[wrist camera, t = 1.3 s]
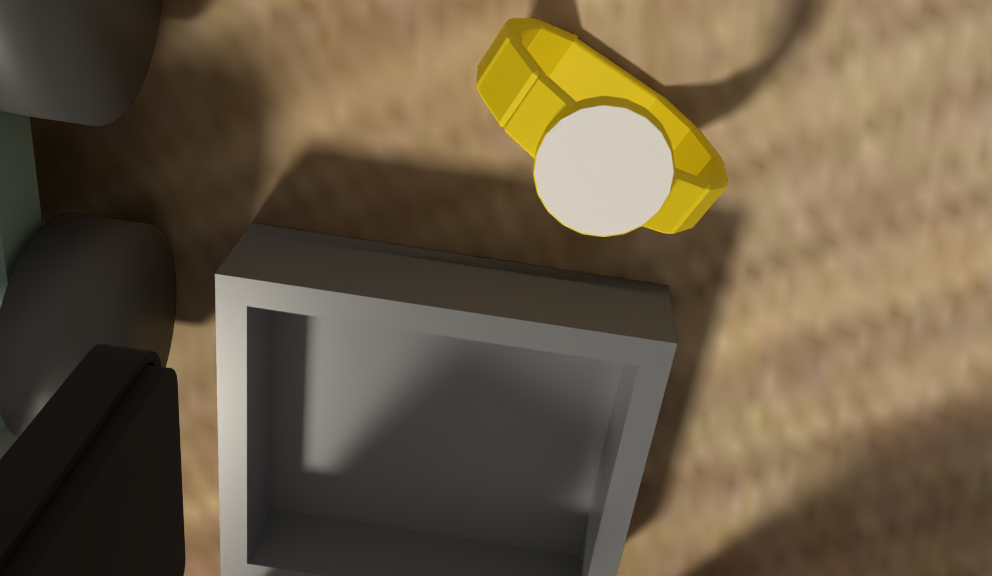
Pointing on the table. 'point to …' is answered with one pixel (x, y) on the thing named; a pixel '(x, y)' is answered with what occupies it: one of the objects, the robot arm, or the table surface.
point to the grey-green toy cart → (69, 236)
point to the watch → (597, 135)
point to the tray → (429, 410)
